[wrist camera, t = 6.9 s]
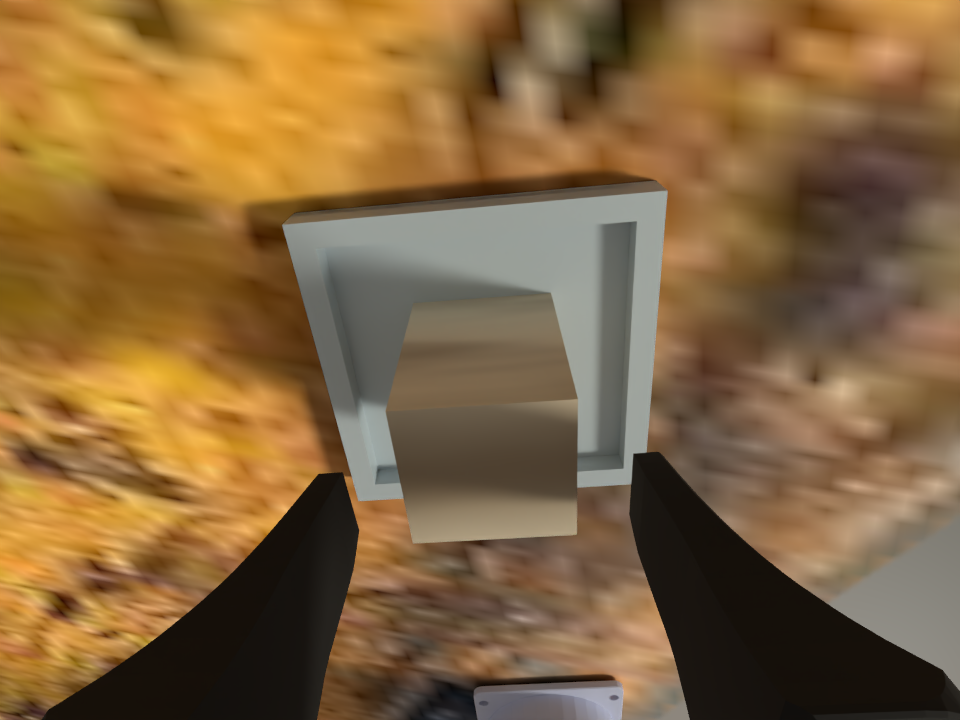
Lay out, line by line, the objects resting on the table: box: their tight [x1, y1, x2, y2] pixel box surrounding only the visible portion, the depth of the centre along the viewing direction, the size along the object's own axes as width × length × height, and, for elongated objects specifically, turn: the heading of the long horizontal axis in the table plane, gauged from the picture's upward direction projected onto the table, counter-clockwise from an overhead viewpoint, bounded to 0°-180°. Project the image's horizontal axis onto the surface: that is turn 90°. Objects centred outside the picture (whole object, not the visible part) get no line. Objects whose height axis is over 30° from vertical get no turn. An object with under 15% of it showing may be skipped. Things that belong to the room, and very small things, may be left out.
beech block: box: [385, 293, 578, 543], centre depth 17 cm, size 4×4×6 cm
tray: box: [282, 180, 667, 501], centre depth 19 cm, size 11×11×1 cm
